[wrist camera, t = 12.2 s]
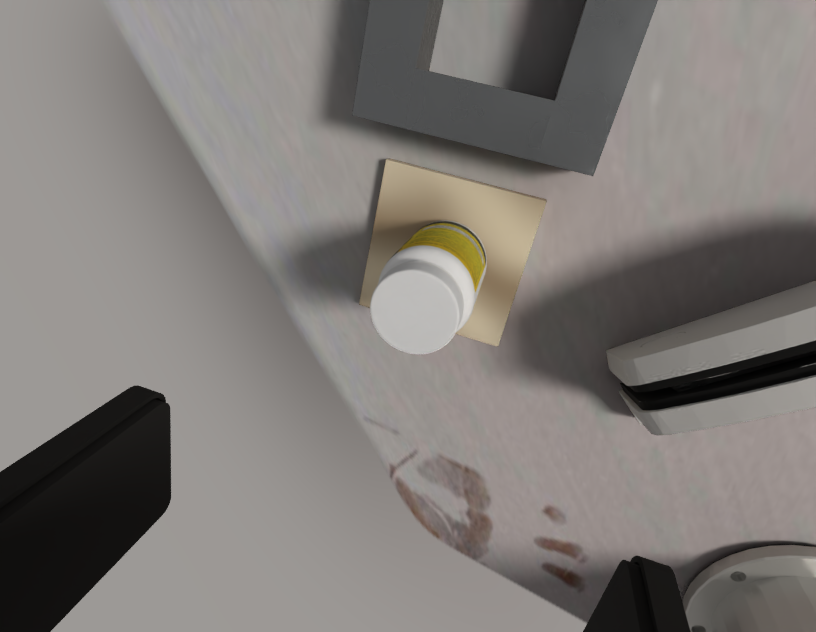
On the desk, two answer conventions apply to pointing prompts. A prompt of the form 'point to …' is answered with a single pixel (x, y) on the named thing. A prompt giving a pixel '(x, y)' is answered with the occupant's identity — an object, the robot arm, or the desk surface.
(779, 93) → the desk surface
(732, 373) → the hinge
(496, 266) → the pad
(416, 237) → the supplement bottle
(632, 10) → the socket block
